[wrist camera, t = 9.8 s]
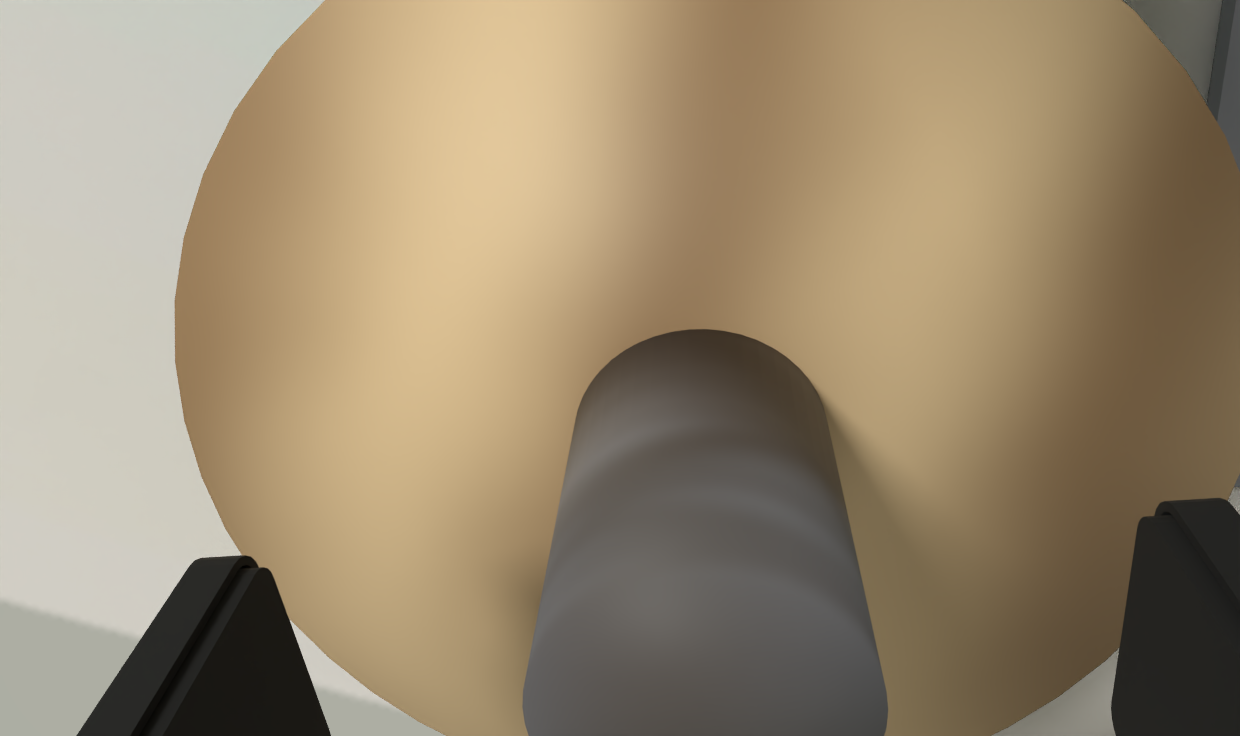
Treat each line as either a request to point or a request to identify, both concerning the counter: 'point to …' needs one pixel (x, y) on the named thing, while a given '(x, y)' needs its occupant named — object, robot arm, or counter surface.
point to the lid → (712, 353)
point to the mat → (1227, 81)
